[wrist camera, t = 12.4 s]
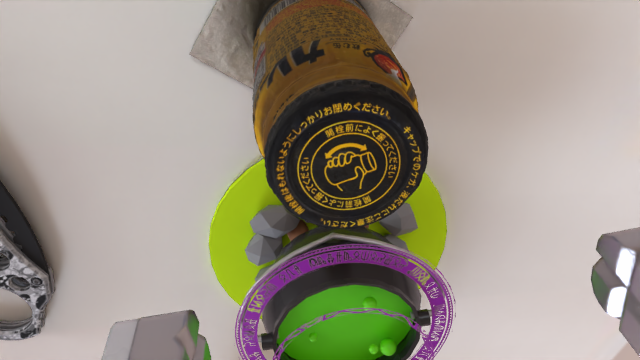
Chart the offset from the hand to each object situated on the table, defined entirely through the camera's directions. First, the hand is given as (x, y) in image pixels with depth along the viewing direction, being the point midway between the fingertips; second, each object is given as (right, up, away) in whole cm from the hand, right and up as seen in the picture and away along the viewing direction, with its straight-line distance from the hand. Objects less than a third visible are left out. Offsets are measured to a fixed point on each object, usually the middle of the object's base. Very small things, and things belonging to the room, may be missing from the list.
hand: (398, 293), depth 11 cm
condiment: (-3, +10, +16) cm, 19 cm away
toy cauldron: (-1, -2, +23) cm, 23 cm away
